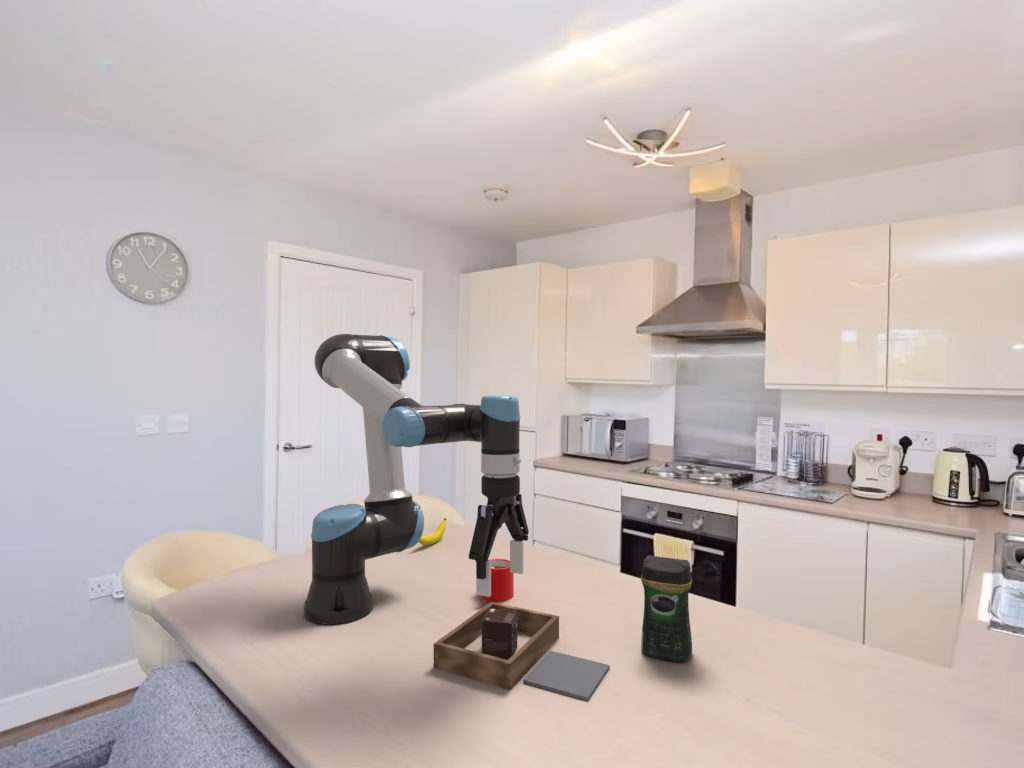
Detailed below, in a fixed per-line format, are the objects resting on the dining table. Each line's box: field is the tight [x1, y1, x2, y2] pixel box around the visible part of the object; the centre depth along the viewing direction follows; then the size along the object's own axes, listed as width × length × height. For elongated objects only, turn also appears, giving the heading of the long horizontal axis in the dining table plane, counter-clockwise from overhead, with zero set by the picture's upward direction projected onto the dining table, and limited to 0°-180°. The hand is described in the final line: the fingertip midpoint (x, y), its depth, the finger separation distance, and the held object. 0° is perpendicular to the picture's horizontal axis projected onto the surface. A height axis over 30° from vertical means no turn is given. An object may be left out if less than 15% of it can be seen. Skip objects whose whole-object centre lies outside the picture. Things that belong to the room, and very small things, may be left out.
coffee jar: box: [640, 555, 693, 663], centre depth 111 cm, size 10×8×19 cm
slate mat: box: [522, 650, 611, 702], centre depth 102 cm, size 12×12×1 cm
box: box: [481, 609, 518, 660], centre depth 111 cm, size 6×6×7 cm
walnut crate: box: [433, 601, 560, 691], centre depth 111 cm, size 16×22×4 cm
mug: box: [480, 558, 515, 603], centre depth 138 cm, size 8×12×8 cm, turn 157°
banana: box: [418, 518, 447, 546], centre depth 181 cm, size 3×19×6 cm, turn 158°
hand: (501, 583), depth 111 cm, fingers open, 13 cm apart
